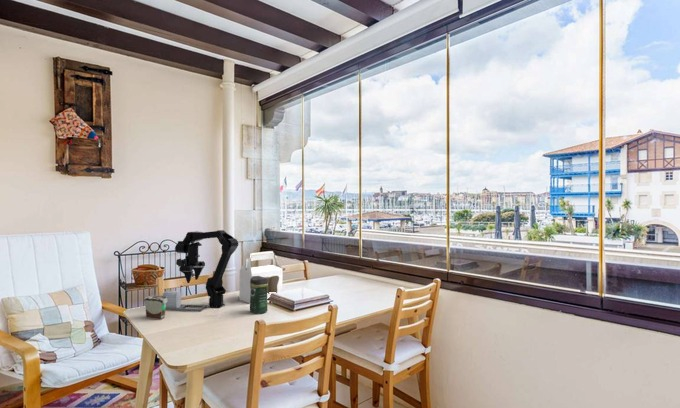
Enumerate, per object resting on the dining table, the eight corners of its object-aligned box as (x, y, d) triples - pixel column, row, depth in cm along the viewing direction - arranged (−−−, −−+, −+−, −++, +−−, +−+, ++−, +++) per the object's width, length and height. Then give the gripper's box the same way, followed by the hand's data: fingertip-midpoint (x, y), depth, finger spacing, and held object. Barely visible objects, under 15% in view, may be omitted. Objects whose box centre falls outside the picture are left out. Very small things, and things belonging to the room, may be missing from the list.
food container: (173, 316, 181) (173, 296, 181) (163, 320, 175) (163, 299, 175) (153, 313, 185) (154, 294, 185) (143, 317, 179) (144, 297, 179)
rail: (207, 307, 198) (207, 305, 198) (200, 311, 190) (200, 309, 190) (164, 306, 200) (164, 303, 200) (156, 310, 192) (156, 307, 192)
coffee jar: (269, 312, 190) (270, 276, 190) (256, 315, 185) (256, 278, 185) (260, 308, 197) (261, 274, 197) (247, 311, 192) (247, 275, 192)
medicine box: (180, 307, 197) (181, 291, 197) (176, 309, 193) (176, 293, 193) (167, 306, 198) (167, 290, 198) (162, 308, 193) (162, 292, 193)
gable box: (250, 304, 206) (251, 254, 206) (238, 299, 215) (239, 252, 215) (282, 297, 222) (283, 251, 222) (270, 293, 231) (270, 249, 231)
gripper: (187, 251, 216) (187, 277, 216) (170, 255, 197) (169, 284, 197) (205, 251, 215) (205, 278, 215) (189, 256, 196) (189, 285, 196)
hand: (192, 281), depth 206 cm, fingers open, 9 cm apart
